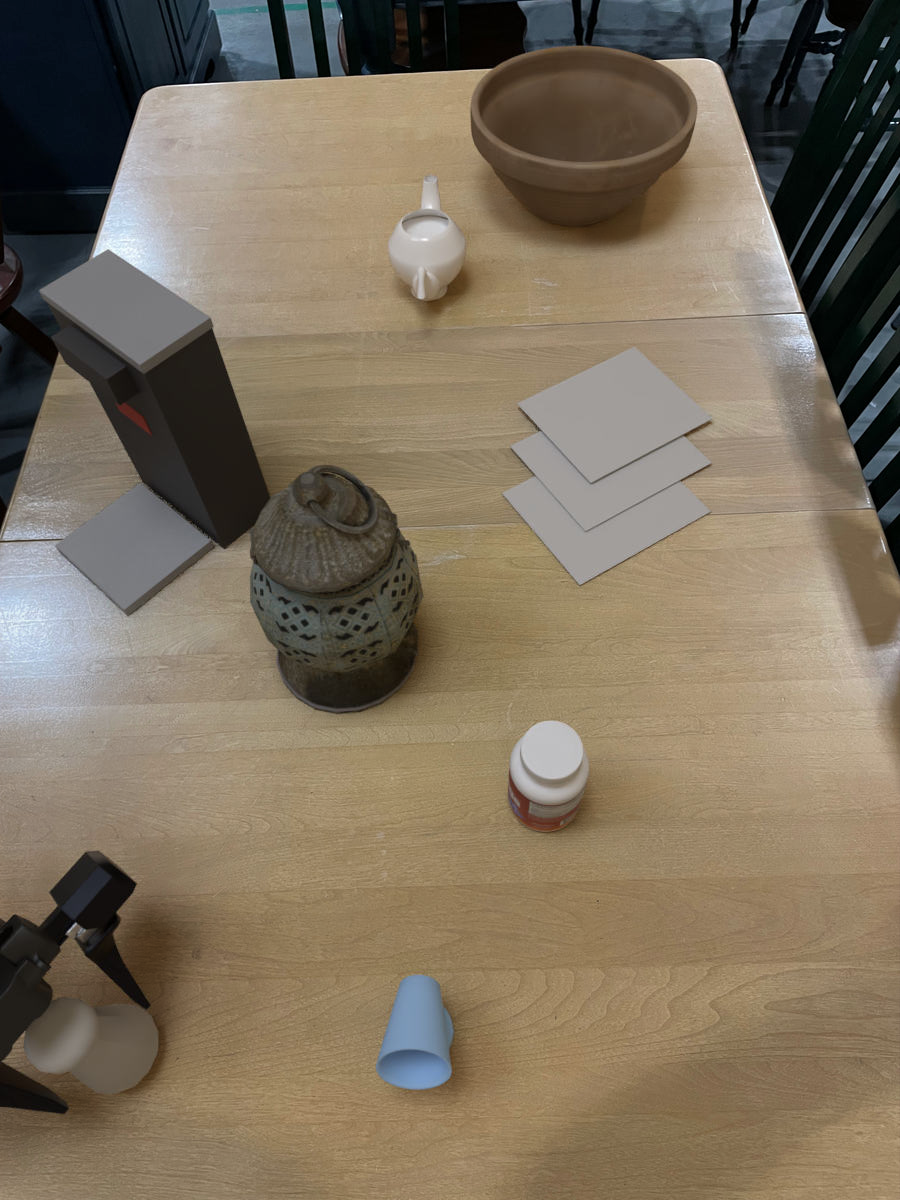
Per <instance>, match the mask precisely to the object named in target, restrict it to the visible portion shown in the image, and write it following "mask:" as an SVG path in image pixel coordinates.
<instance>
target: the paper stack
mask: <svg viewBox="0 0 900 1200" xmlns="http://www.w3.org/2000/svg"><path fill="white" fill-rule="evenodd" d="M516 405H517V406H518V407H519V408H520V409H521V410H522V411H523V412H524V414H526V415H527V416H528V418H530V420H531V421H532V422H533V423H534V424H535V426H537V427H538V428H539V431H537V432H535V433H533V434H532V435H529V436H527V437H525V438H524V439H521V440H520V441H517V442H515V443H513V444H512V445H509V446H510V448H511V449H512V451H513V452H514V453H515V454H516V455H517V457H519V458H520V459H521V461H522V462H523V463H524V464H525V465H526V466H527V467H528V468H529V470H530V471H531V472H532V473H533V474H534V476H532V477H530V478H529V479H526V480H525V481H523V482H520V483H519V484H517V485H514V486H512V487H511V488H509V489H507V490H505V491H503V492H502V493H501V494H502V495H503V497H504V498H505V499H506V500H507V501H508V503H509V504H510V505H511V506H512V507H513V508H514V510H515V511H516V512H517V513H518V514H519V516H520V517H521V518H522V520H524V522H525V523H526V524H527V525H528V527H530V529H531V530H532V531H533V532H534V533H535V535H537V537H538V538H539V539H540V541H541V542H542V543H543V544H544V545H545V546H546V547H547V549H548V550H549V551H550V553H552V554H553V555H554V557H555V558H556V560H557V561H558V562H559V563H560V564H561V565H562V566H563V567H564V569H565V570H566V571H567V573H569V574H570V576H571V577H572V578H573V579H574V580H575V582H576V583H577V584H578V585H579V586H581V585H583V584H585V583H586V582H589V581H591V580H592V579H594V578H596V577H598V576H599V575H601V574H603V573H604V572H606V571H608V570H610V569H612V568H613V567H615V566H617V565H619V564H620V563H622V562H625V561H626V560H628V559H629V558H631V557H633V556H635V555H636V554H639V553H640V552H642V551H644V550H645V549H647V548H648V547H651V546H652V545H654V544H656V543H658V542H660V541H662V540H663V539H666V538H667V537H668V536H671V535H672V534H674V533H676V532H678V531H679V530H681V529H683V528H685V527H687V526H689V525H690V524H692V523H693V522H695V521H697V520H699V519H701V518H702V517H704V516H706V515H708V514H709V513H712V510H710V508H709V507H707V506H706V504H705V503H703V502H702V501H701V500H700V499H699V498H698V497H697V496H696V495H695V494H694V493H693V492H692V490H690V489H689V488H688V487H687V486H686V485H685V484H684V483H683V482H682V481H681V480H683V479H685V478H687V477H688V476H691V475H692V474H694V473H696V472H698V471H700V470H701V469H703V468H705V467H707V466H709V465H711V464H712V463H713V462H712V461H711V460H710V459H709V458H708V457H707V456H705V454H704V453H703V452H702V451H700V449H698V448H697V447H696V446H695V445H694V444H693V443H692V442H691V441H690V440H689V439H688V438H687V437H686V436H685V434H687V433H688V432H691V431H692V430H695V429H696V428H698V427H701V426H702V425H704V424H706V423H707V422H709V421H711V420H714V418H713V417H712V416H711V415H710V414H709V413H708V412H707V411H706V410H704V408H702V407H701V406H700V405H699V404H698V403H697V402H696V401H695V400H694V399H693V398H692V397H690V396H689V395H688V394H687V393H686V392H685V391H684V390H683V389H681V388H680V386H678V385H677V384H676V383H675V382H674V381H673V380H672V379H671V378H669V376H668V375H666V374H665V373H664V372H663V371H662V370H661V369H660V368H659V367H658V366H656V365H655V364H654V363H653V362H652V361H651V360H650V359H649V358H648V357H647V356H645V355H644V354H643V353H642V352H641V350H639V349H638V348H636V346H632V347H631V348H628V349H627V350H624V351H623V352H620V353H618V354H616V355H614V356H612V357H610V358H608V359H606V360H604V361H602V362H600V363H598V364H596V365H593V366H592V367H589V368H587V369H585V370H583V371H581V372H579V373H576V374H575V375H573V376H571V377H569V378H566V379H564V380H563V381H560V382H559V383H558V382H557V383H556V384H554V385H552V386H550V387H547V388H546V389H544V390H542V391H540V392H537V393H536V394H533V395H532V396H529V397H527V398H525V399H523V400H521V401H519V402H517V403H516Z"/></svg>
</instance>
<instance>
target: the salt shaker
mask: <svg viewBox="0 0 900 1200" xmlns="http://www.w3.org/2000/svg"><path fill="white" fill-rule="evenodd" d="M23 1050H24V1054H25V1056H26V1060H27V1061H28V1062H29V1063H30V1064H31V1065H33V1066H34V1067H35V1068H36V1069H37V1070H38V1071H39V1072H41V1073H42V1074H43V1073H45V1074H58V1075H61V1074H64V1073H68V1072H69V1074H71V1075H72V1076H74V1077H75V1078H76V1079H78V1080H79V1081H80V1082H82V1083H83V1084H84V1085H85V1086H86V1087H88V1088H89V1089H91V1090H92V1091H93V1092H94V1093H96V1094H106V1095H116V1094H118V1093H121V1092H125V1091H126V1090H128V1089H131V1088H134V1087H136V1086H137V1085H138V1084H139V1082H141V1081H142V1079H144V1077H146V1075H147V1074H148V1073H149V1072H150V1071H151V1069H152V1067H153V1064H154V1062H155V1060H156V1058H157V1055H158V1053H159V1029H158V1028H157V1025H156V1023H155V1021H154V1018H153V1016H152V1015H151V1014H150V1013H149V1012H147V1010H145V1009H144V1008H143V1007H141V1006H140V1005H138V1004H129V1003H114V1004H107V1005H98V1006H92V1005H90V1004H89V1003H88V1002H87V1001H85V1000H84V999H82V998H79V997H72V996H71V997H70V996H61V997H58V998H56V999H52V1001H51V1003H50V1005H49V1007H48V1008H47V1010H46V1011H45V1012H44V1013H43V1014H42V1016H41V1017H40V1018H37V1019H35V1020H34V1021H33V1022H32V1023H31V1024H30V1026H29V1027H28V1028H27V1029H26V1030H25V1031H24V1039H23Z"/></svg>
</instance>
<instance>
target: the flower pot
mask: <svg viewBox="0 0 900 1200" xmlns="http://www.w3.org/2000/svg"><path fill="white" fill-rule="evenodd" d="M469 111H470V112H469V113H470V131H471V132H470V133H471V138H472V141H473V143H474V146H475V148H476V150H477V152H478V153H479V154H480V156H481V157H482V158H483V159H484V160H485V161H486V162H487V164H489V165H490V167H491V168H492V170H493V172H494V174H495V175H496V176H497V177H498V178H499V180H500V181H501V183H502V185H503V186H505V188H506V189H507V190H508V191H509V192H510V193H511V194H512V196H513V197H514V198H515V199H516V200H518V201H519V202H520V203H521V204H522V205H523V206H524V207H525V208H526V209H527V210H528V211H529V212H530V213H531V214H533V215H534V216H535V217H537V218H539V219H541V220H543V221H545V222H548V223H551V224H555V225H559V226H567V227H582V226H583V227H584V226H589V225H594V224H597V223H600V222H604V221H606V220H607V219H610V218H611V217H613V216H614V215H615V214H616V213H618V212H619V211H621V210H622V209H624V208H625V207H627V206H628V205H630V204H631V203H633V202H634V201H635V200H637V199H638V198H639V197H641V196H642V195H643V194H644V193H645V192H646V191H647V190H649V189H650V188H651V187H652V186H653V185H654V184H655V183H657V182H658V180H659V179H660V178H661V177H662V175H663V174H665V173H667V172H668V171H669V170H671V169H672V168H673V167H674V166H675V165H677V164H678V163H679V161H680V160H681V159H682V158H683V157H684V156H685V154H686V153H687V150H688V149H689V147H690V144H691V142H692V137H693V134H694V131H695V127H696V121H697V116H698V101H697V98H696V95H695V94H694V91H693V90H692V88H691V87H690V86H689V84H688V83H687V82H686V81H685V80H684V79H683V78H682V77H681V76H680V75H679V74H678V73H676V72H675V71H673V69H670V68H669V67H668V66H665V64H663V63H660V62H658V61H656V60H654V59H652V58H649V57H646V56H643V55H641V54H638V53H634V52H631V51H627V50H623V49H618V48H612V47H605V46H594V45H565V46H564V45H563V46H554V47H548V48H547V47H546V48H543V49H537V50H533V51H532V50H531V51H528V52H525V53H522V54H519V55H516V56H513V57H511V58H509V59H507V60H505V61H503V62H501V63H499V64H498V65H496V66H495V67H493V68H491V70H489V71H488V72H487V73H486V74H484V76H483V77H481V79H480V80H479V82H478V83H477V84H476V86H475V87H474V90H473V92H472V95H471V98H470V109H469Z"/></svg>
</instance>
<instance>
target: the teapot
mask: <svg viewBox="0 0 900 1200" xmlns="http://www.w3.org/2000/svg"><path fill="white" fill-rule="evenodd" d="M439 187H440V186H439V179H438V177H437V176H436V175H435V174H427V175H424V177H423V181H422V191H421V199H420V200H421V201H420V208H418V209H415V210H412V211H410V212H408V213H406V214H405V215H404V216H402V217H401V218H400V219H399V220H398V222H397V224H396V225H395V227H394V228H393V231H392V232H391V233H390V236H389V238H388V240H387V255H388V259H389V263H390V265H391V267H392V269H393V271H394V272H395V274H396V275H397V277H398V278H399V279H400V280H401V281H402V282H403V283H404V284H405V285H407V286H409V287H410V288H409V289H410V293H411V295H412V296H413V297H414V298H416V299H417V300H420V301H423V302H432V301H436V300H439V299H441V298H442V297H444V296H445V295H446V294H447V293H448V285H449V284H451V283H452V282H453V281H454V280H455V279H456V278H457V276H458V275H459V274H460V272H461V270H462V268H463V266H464V264H465V260H466V256H467V241H466V240H467V239H466V237H465V234H464V232H463V230H462V229H461V228H460V227H459V225H458V224H457V223H456V221H455V220H454V219H453V218H452V216H450V215H449V214H448V213H446V212H444V211H443V210H442V203H441V202H442V201H441V195H440V188H439Z"/></svg>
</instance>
